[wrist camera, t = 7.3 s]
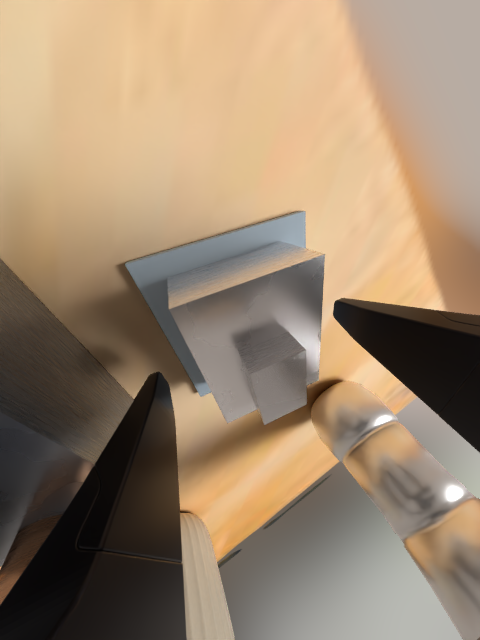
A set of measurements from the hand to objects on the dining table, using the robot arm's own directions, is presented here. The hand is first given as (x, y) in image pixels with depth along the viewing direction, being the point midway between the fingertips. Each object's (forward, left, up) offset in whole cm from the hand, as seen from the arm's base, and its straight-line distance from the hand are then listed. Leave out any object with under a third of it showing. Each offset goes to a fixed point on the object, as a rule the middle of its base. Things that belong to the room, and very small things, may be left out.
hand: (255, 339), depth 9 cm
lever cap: (0, 0, -2) cm, 2 cm away
